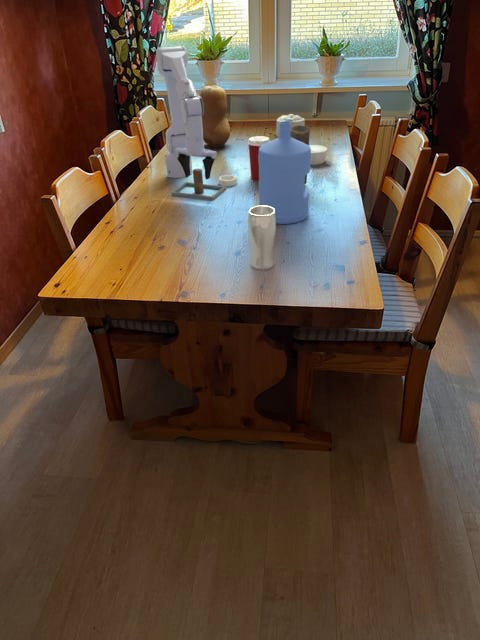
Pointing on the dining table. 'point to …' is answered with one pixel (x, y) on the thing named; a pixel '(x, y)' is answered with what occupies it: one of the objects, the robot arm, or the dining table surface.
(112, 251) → the dining table surface
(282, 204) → the water jug
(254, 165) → the coffee cup
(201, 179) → the dowel
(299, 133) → the brown rounded cylinder
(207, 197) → the tray
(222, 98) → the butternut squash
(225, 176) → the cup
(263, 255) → the beer glass
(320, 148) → the ramekin
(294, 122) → the lumpy-topped squat cylinder
